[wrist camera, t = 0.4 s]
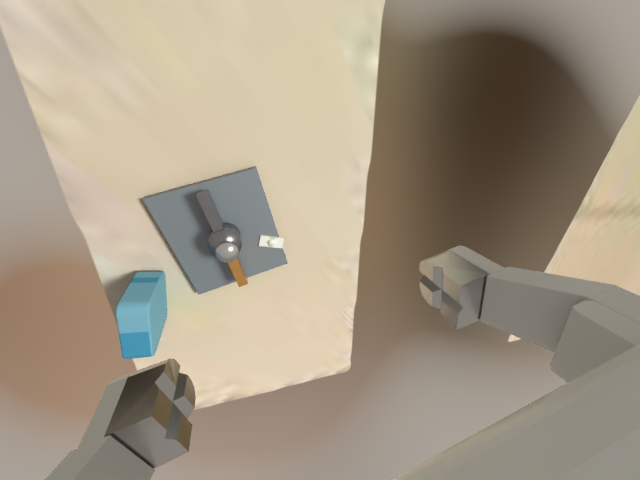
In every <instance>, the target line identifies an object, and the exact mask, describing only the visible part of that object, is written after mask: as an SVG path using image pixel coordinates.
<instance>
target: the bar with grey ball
mask: <svg viewBox="0 0 640 480" xmlns="http://www.w3.org/2000/svg"><path fill="white" fill-rule="evenodd" d="M196 196H197V199H198V201H199V203H200V205H201V207H202V209H203V211H204V213H205V215H206V218H207V220H208V222H209V224H210V226H211V230H210V232H209V236H208V242H207V248H208V251H209V252H210V254H211V255H212V256H214V257H216V258H217V259H218V260H220V261H221V262H225V263H228V264H229V266H230V268H231V271H232V273H233V275H234V277H235V279H236V281H237V283H238V285H239V287H241V286H243V285H246V284H248V280H247V276H246V274H245V271H244V269H243V267H242V264H241V262H240V260H239V258H238V254H239V252H240V250H241V248H242V241H241V233H240V230H239V229H238V228H237V227H236V226H235V225H233V224H231V223H227V222H223V221H222V219H221V217H220V215H219V212H218V210H217V208H216V206H215V203H214V201H213V199H212V196H211V194H210V192H209V190H208V189H207V190H203V191H200V192H198V193H197V195H196Z"/></svg>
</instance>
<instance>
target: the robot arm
mask: <svg viewBox="0 0 640 480" xmlns="http://www.w3.org/2000/svg"><path fill="white" fill-rule="evenodd" d="M420 272H421V273H422V274H423V277H422V278H421V280H420V290H421V292H422V294H423V296H424V298H425V299H426V301H427V302H428V303H429V304H430V305H431V306H433V307H436V308H439V309H441V315H442V316H443V317H444V318H445V319H446V320H447V321H448V322H449V323H450V324H452V325H453V326H454V327H455V328H456V329H459V328H462V327H464V326H467V325H469V324H471V323H474V322H476V321H479V320H480V322H483V323H485V324H487V325H490V326H492V327H495V328H497V329H500V330H502V331H505V332H507V333H510V334H512V335H514V336H517V337H519V338H522V339H524V340H527V341H529V342H532V343H534V344H536V345H539V346H541V347H544V348H546V349H549V350H551V351H554V352H555V353H554V355H553V358H552V360H551V363H550V367H551V370H552V371H554V372H555V373H556V374H557V375H559V376H560V377H561V378H563V379H564V380H565V381H566V382H567V384H565V385H563V386H561V387H559V388H558V389H556V390H554V391H552V392H550V393H549V394H547V395H545V396H543V397H541V398H539V399H538V400H536V401H534V402H532V403H531V404H528V405H527V406H525V407H523V408H521V409H519V410H517V411H516V412H514V413H512V414H510V415H508V416H507V417H505V418H503V419H501V420H499V421H497V422H496V423H494V424H492V425H490V426H488V427H487V428H485V429H483V430H481V431H479V432H478V433H476V434H474V435H472V436H470V437H468V438H467V439H465V440H463V441H461V442H459V443H457V444H456V445H454V446H452V447H450V448H448V449H447V450H445V451H443V452H441V453H439V454H437V455H436V456H434V457H432V458H430V459H428V460H427V461H425V462H423V463H421V464H419V465H417V466H416V467H414V468H412V469H410V470H408V471H407V472H405V473H403V474H401V475H399V476H397V477H396V478H394V479H392V480H640V296H638V295H636V294H634V293H631V292H629V291H627V290H625V289H622V288H620V287H618V286H615V285H612V284H606V283H600V282H594V281H589V280H583V279H577V278H571V277H565V276H560V275H554V274H548V273H542V272H536V271H531V270H524V269H519V268H513V267H507V268H503V267H501V266H499V265H498V264H496V263H494V262H492V261H490V260H488V259H487V258H485V257H483V256H481V255H479V254H478V253H476V252H474V251H472V250H470V249H468V248H466V247H465V246H457V247H455V248H452V249H450V250H447V251H446V252H443V253H440V254H438V255H436V256H433V257H431V258H428V259H425V260H423V261H421V263H420ZM179 369H180V365H179V364H178V363H177V361H176V360H175V359H168V360H165V361H162V362H160V363H157V364H154V365H151V366H149V367H146V368H143V369H140V370H138V371H135V372H133V373H131V374H128V375H125V376H122V377H120V378H117V379H114V380H113V381H111V382H110V383H109V384H108V385H107V387H106V389H105V391H104V394H103V396H102V398H101V400H100V402H99V404H98V406H97V408H96V411H95V413H94V415H93V417H92V419H91V422H90V424H89V426H88V428H87V430H86V432H85V434H84V436H83V438H82V441H81V443H80V445H79V447H78V449H75V450H73V451H71V452H70V453H69V454H68V455H67V456H66V457H65V458H64V459H63V460H62V461H61V463H60V464H59V465H58V466H57V467H56V468H55V469H54V470H53V471H52V473H51V474H50V475H49V476H48V477H47V478H46V479H45V480H150V479H151V477H152V475H153V473H154V471H155V470H154V468H156V467H158V466H161V465H163V464H165V463H166V462H169V461H171V460H173V459H175V458H177V457H179V456H181V455H183V454H185V453H187V452H189V446H190V437H191V431H192V424H191V422H190V421H189V420H188V417H189V416H190V414H191V413H192V411H193V409H194V407H195V390H194V385H193V383H192V381H191V379H190V378H189V376H188V375H186V374H182V373H179Z"/></svg>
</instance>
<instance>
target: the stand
mask: <svg viewBox="0 0 640 480" xmlns="http://www.w3.org/2000/svg"><path fill="white" fill-rule="evenodd" d="M207 189H208V190H209V192H210V194H211V196H212V199H213V201H214V203H215V206H216V208H217V210H218V212H219V215H220V217H221V219H222V221H223V222H227V223H231V224H233V225H235V226H236V227H237V228H238V229H239V230H240V233H241V241H242V248H241V250H240V252H239V254H238V258H239V260H240V262H241V264H242V267H243V269H244V271H245V274H246V276H247V277H250V276H253V275H256V274H258V273H261V272H264V271H267V270H270V269H273V268H276V267H278V266H281V265H284V264H287V260H286V257H285V254H284V251H283V248H282V246H283V242H284V238H282V237H279V236H278V233H277V230H276V227H275V223H274V220H273V217H272V214H271V211H270V208H269V205H268V202H267V199H266V196H265V193H264V190H263V187H262V184H261V181H260V178H259V175H258V172H257V168H256V167H252V168H248V169H245V170H241V171H237V172H234V173H230V174H226V175H223V176H219V177H216V178H212V179H208V180H205V181H201V182H197V183H194V184H190V185H186V186H183V187H179V188H175V189H172V190H168V191H165V192H161V193H157V194H154V195H150V196H146V197H144V198H143V199H142V200H143V201H144V203H145V205H146V206H147V208H148V210H149V211H150V213H151V215H152V217H153V218H154V220H155V222H156V223H157V225H158V227H159V228H160V230H161V232H162V234H163V235H164V237H165V239H166V240H167V242H168V244H169V245H170V247H171V249H172V251H173V252H174V254H175V256H176V257H177V259H178V261H179V262H180V264H181V266H182V267H183V269H184V271H185V273H186V274H187V276H188V278H189V279H190V281H191V283H192V284H193V286H194V288H195V290H196V291H197V293H198V295H199V294H201V293H204V292H207V291H210V290H213V289H216V288H219V287H221V286H224V285H227V284H230V283H233V282H236V279H235V277H234V275H233V273H232V271H231V268H230V266H229V264H228V263H225V262H221V261H220V260H218V259H217V258H216V257H214V256H212V255H211V254H210V252H209V251H208V248H207V242H208V236H209V232H210V230H211V226H210V224H209V222H208V220H207V218H206V215H205V213H204V211H203V209H202V207H201V205H200V203H199V201H198V199H197V196H196V195H197V193H198V192H200V191H203V190H207Z"/></svg>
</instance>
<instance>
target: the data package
mask: <svg viewBox="0 0 640 480" xmlns="http://www.w3.org/2000/svg"><path fill="white" fill-rule="evenodd" d="M166 318H167V299H166V282H165V273H164V272H163V271H138V272H137V273H136V274H135V276H134V277H133V279H132V281H131V282H130V284H129V286H128V287H127V289H126V291H125V292H124V294H123V296H122V297H121V299H120V301H119V302H118V304H117V308H116V319H117V325H118V331H119V337H120V344H121V350H122V356H123V358H124V359H131V358H140V357H150V356H154V355H155V353H156V350H157V346H158V343H159V340H160V337H161V334H162V331H163V328H164V324H165V321H166Z"/></svg>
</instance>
